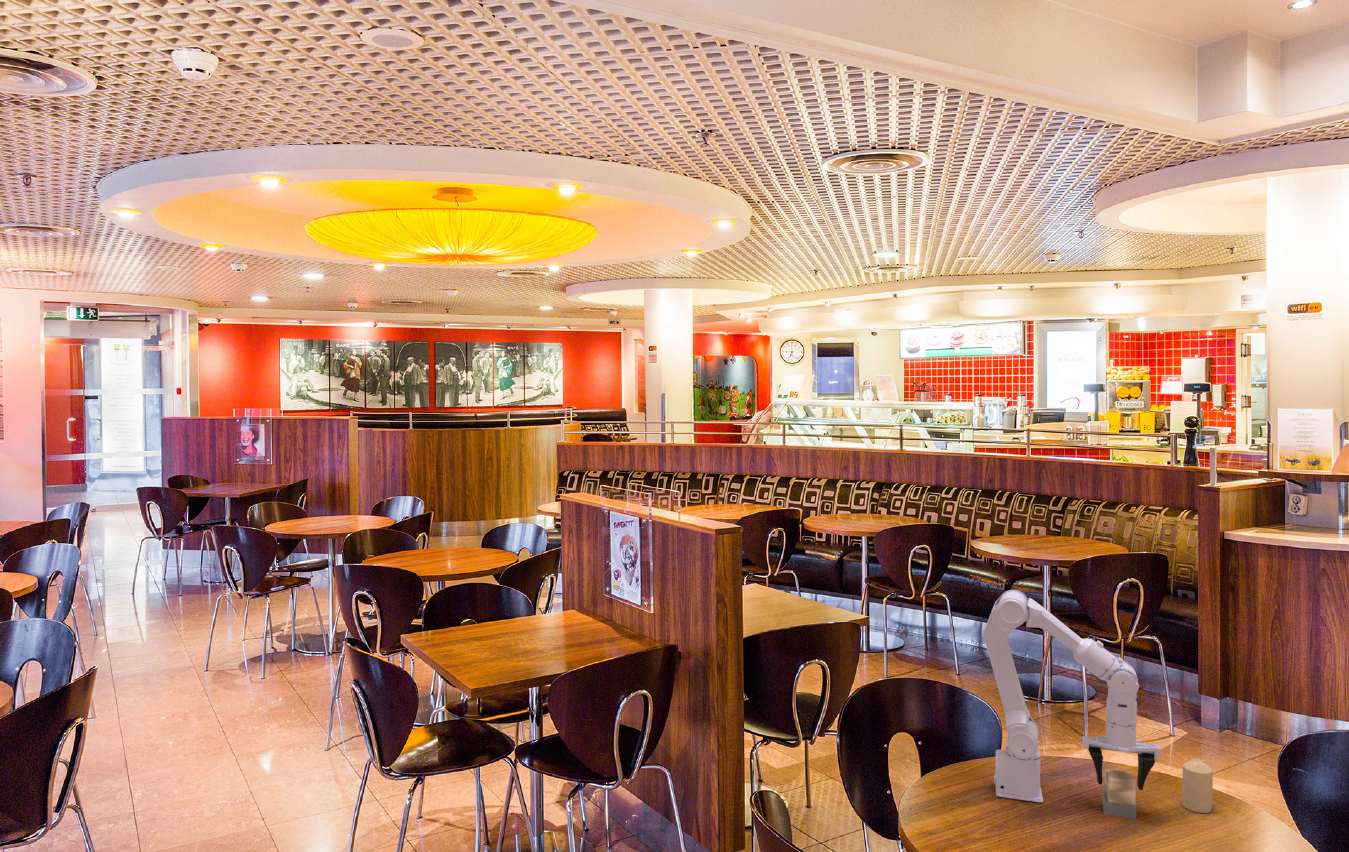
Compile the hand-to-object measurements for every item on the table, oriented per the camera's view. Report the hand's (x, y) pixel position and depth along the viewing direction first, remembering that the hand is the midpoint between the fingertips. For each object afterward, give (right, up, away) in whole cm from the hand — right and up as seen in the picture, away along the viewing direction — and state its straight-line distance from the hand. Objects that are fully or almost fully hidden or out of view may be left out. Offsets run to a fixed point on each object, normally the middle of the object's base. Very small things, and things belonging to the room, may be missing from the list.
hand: (1119, 785), depth 183 cm
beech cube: (0, -3, 0) cm, 3 cm away
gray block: (0, -6, 0) cm, 6 cm away
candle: (+17, -6, +2) cm, 18 cm away
